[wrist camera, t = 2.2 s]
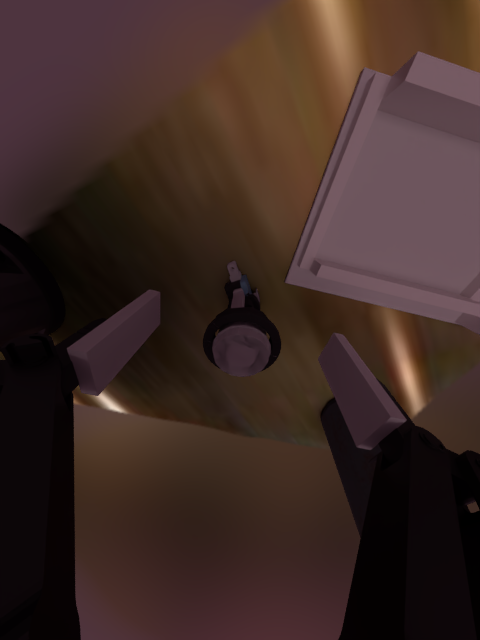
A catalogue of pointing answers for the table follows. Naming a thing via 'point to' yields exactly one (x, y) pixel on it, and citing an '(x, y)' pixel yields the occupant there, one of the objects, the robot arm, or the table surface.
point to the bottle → (350, 462)
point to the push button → (241, 331)
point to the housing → (402, 196)
